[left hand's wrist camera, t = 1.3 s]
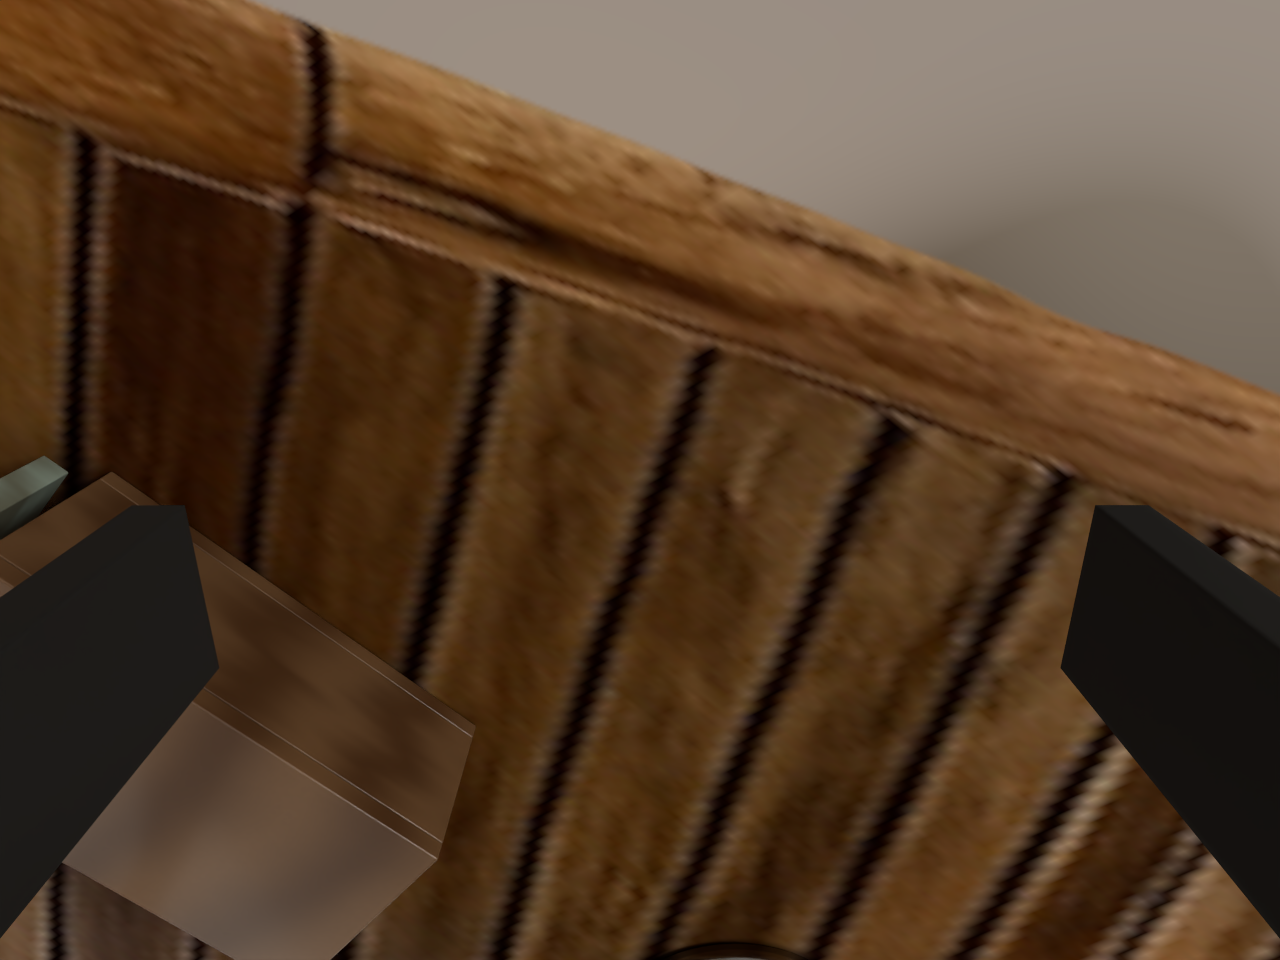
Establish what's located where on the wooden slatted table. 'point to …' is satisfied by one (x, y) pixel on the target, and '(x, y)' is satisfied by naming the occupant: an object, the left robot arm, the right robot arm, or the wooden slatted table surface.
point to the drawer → (27, 493)
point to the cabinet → (267, 767)
